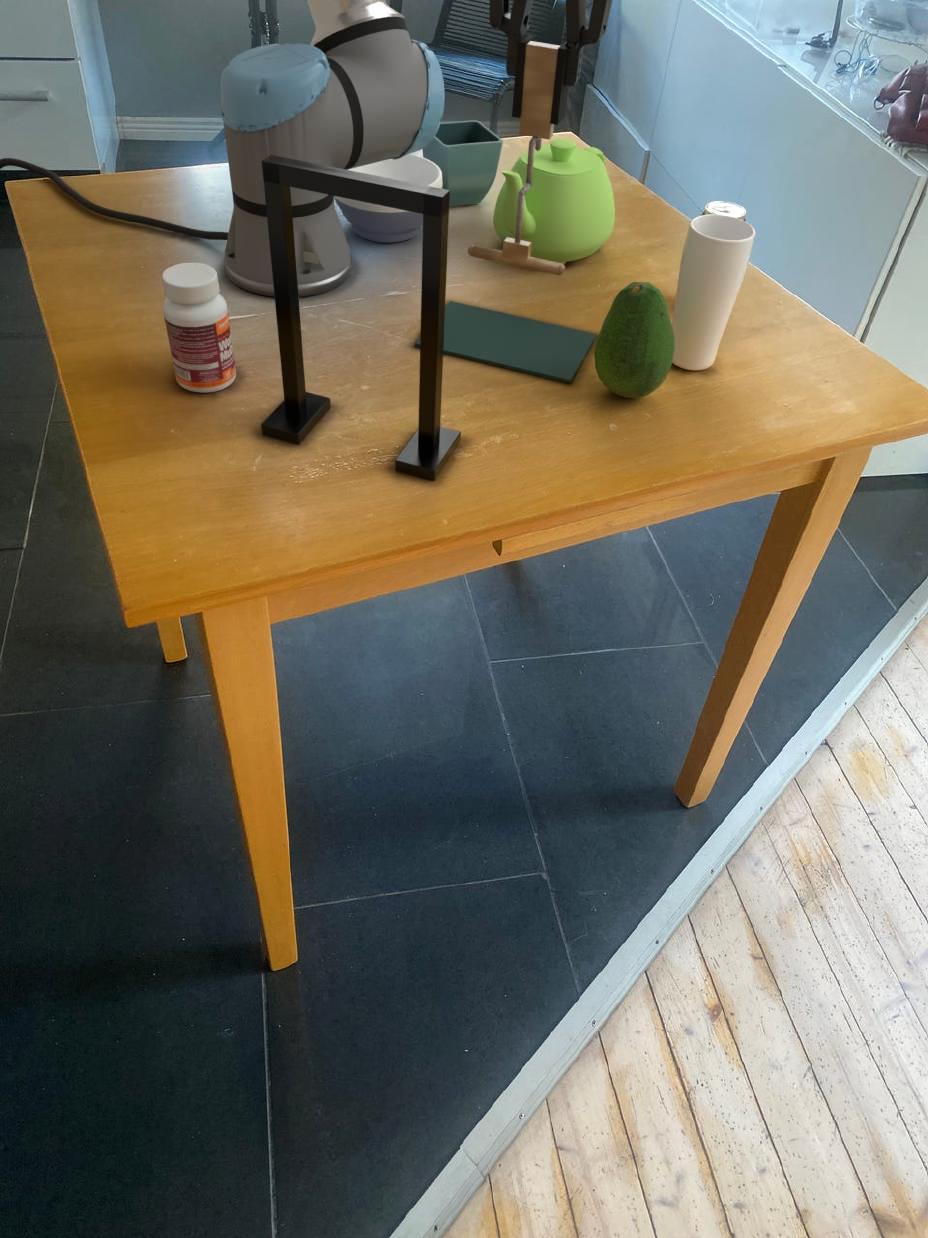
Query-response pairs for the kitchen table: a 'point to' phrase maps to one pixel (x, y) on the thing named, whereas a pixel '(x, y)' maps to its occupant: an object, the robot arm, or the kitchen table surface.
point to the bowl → (386, 220)
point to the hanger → (530, 152)
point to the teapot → (559, 202)
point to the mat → (514, 342)
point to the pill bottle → (198, 328)
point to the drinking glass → (708, 286)
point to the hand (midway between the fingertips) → (538, 115)
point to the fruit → (635, 342)
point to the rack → (299, 406)
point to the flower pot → (465, 159)
